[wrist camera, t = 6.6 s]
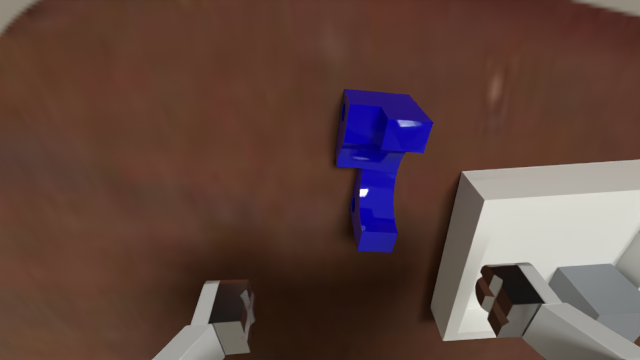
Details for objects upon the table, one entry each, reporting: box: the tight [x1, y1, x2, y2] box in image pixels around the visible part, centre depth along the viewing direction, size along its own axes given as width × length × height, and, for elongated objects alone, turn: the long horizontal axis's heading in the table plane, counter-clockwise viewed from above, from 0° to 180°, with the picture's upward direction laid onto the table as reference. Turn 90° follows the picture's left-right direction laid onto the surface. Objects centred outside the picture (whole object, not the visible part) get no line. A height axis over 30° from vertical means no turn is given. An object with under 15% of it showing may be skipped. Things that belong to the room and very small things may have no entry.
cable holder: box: [335, 89, 433, 253], centre depth 17 cm, size 8×4×4 cm, turn 174°
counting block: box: [548, 263, 640, 343], centre depth 23 cm, size 4×4×4 cm
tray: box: [430, 160, 640, 341], centre depth 22 cm, size 14×14×3 cm
